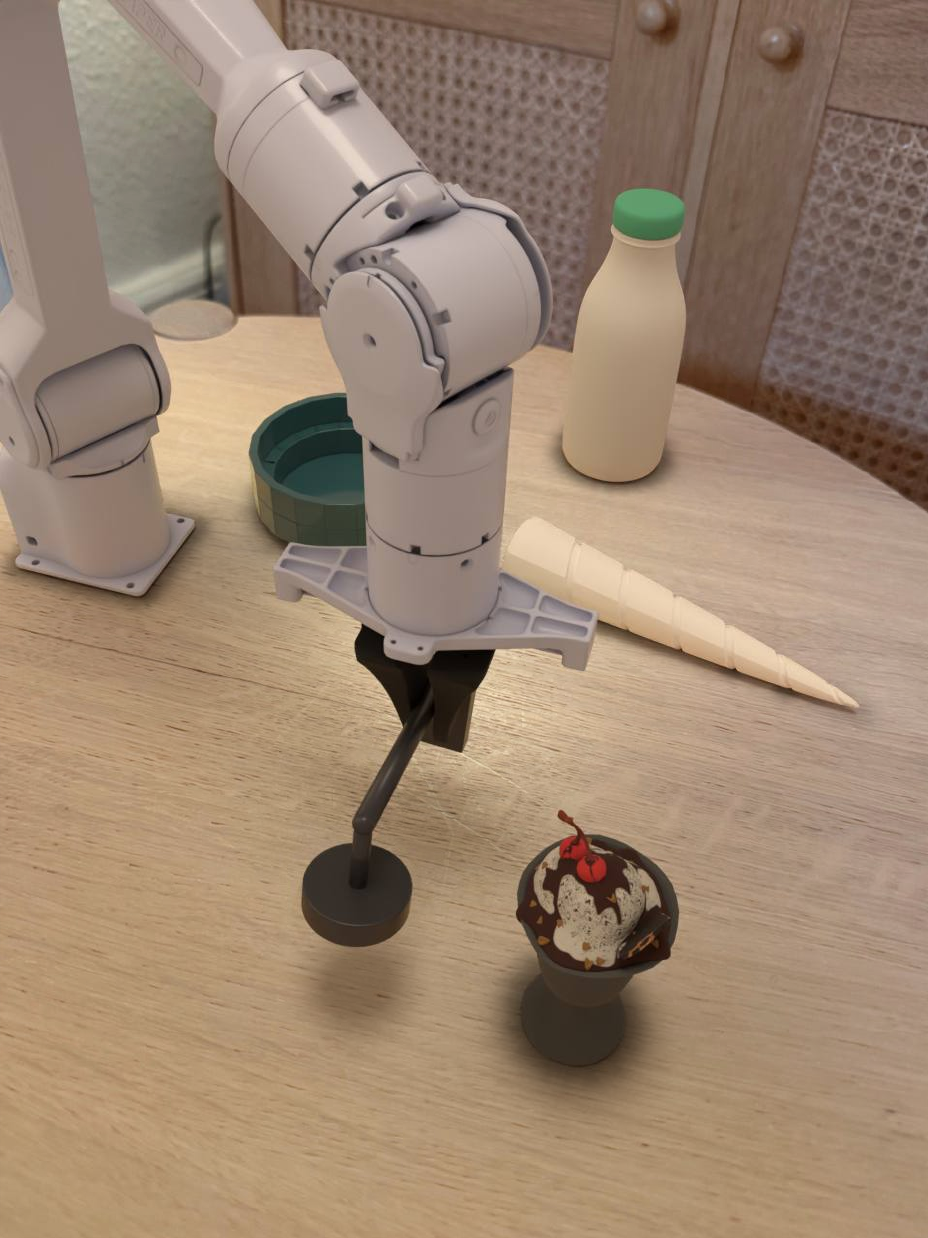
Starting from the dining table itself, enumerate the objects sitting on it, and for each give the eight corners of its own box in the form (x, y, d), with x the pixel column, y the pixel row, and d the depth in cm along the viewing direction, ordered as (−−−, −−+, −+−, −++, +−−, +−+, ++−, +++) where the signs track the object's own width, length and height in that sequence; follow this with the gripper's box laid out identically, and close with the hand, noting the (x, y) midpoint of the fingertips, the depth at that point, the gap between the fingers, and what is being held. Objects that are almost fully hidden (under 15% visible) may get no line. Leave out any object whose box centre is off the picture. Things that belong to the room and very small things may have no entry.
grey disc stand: (388, 962, 46) (400, 872, 42) (283, 927, 46) (287, 836, 43) (484, 744, 58) (498, 662, 55) (399, 720, 59) (409, 638, 56)
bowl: (225, 538, 75) (216, 480, 72) (300, 434, 84) (295, 378, 81) (405, 579, 73) (404, 522, 69) (462, 467, 82) (464, 411, 78)
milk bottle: (666, 487, 81) (719, 229, 67) (563, 483, 81) (595, 224, 67) (655, 427, 86) (701, 178, 72) (558, 424, 86) (586, 173, 72)
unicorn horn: (836, 753, 63) (859, 698, 60) (492, 593, 72) (495, 538, 69) (862, 702, 66) (886, 648, 63) (528, 555, 75) (533, 500, 72)
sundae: (493, 955, 53) (513, 769, 43) (627, 946, 54) (679, 761, 43) (508, 1090, 49) (534, 918, 38) (655, 1079, 49) (720, 907, 39)
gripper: (231, 534, 43) (264, 747, 53) (585, 614, 41) (553, 824, 50) (300, 436, 48) (319, 648, 58) (621, 503, 45) (585, 713, 55)
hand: (431, 723), depth 54 cm, fingers closed on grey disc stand
